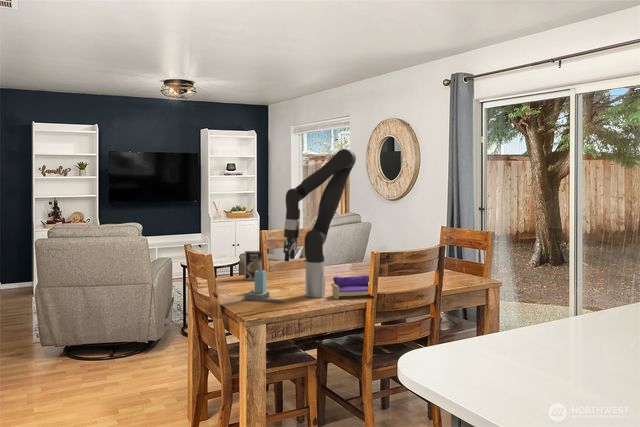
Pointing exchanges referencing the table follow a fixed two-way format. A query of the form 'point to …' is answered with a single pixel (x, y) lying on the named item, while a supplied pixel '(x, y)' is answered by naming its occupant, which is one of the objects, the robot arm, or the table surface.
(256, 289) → the block
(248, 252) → the coffee box
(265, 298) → the rail bay
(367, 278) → the toy sofa
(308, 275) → the robot arm
